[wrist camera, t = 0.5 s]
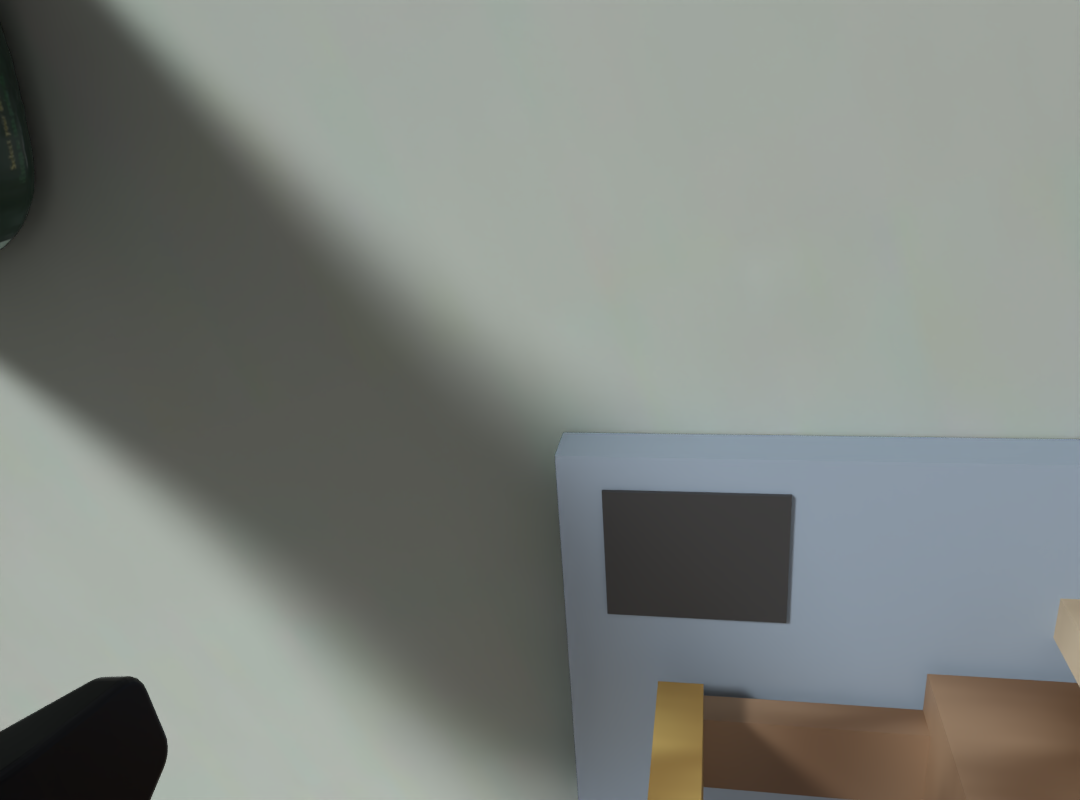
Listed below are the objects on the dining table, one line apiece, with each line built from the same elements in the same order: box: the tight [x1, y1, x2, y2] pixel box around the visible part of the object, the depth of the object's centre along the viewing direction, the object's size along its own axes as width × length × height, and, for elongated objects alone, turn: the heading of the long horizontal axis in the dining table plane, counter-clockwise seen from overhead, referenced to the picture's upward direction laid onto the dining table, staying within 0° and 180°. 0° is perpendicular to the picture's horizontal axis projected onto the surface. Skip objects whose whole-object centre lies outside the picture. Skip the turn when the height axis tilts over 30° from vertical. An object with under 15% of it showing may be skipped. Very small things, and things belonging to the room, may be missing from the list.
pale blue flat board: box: [555, 433, 1080, 800], centre depth 21 cm, size 20×14×1 cm
